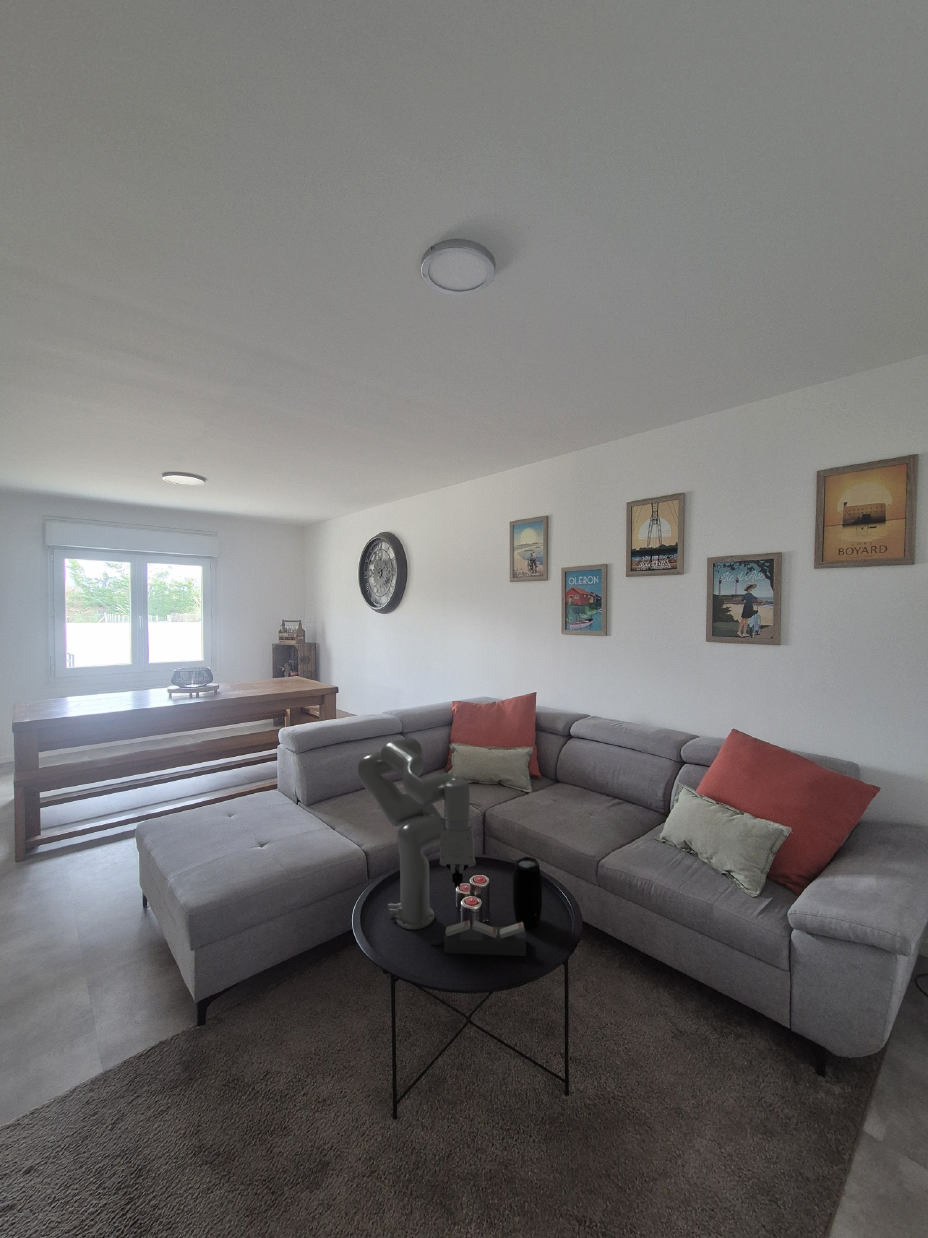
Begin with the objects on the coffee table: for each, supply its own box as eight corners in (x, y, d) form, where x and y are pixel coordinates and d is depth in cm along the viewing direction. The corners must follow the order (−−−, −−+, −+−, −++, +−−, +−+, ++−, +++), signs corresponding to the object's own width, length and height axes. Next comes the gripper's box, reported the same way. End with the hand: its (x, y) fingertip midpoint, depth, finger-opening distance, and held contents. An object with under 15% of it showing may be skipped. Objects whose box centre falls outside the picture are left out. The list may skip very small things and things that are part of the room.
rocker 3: (501, 938, 147) (499, 934, 147) (501, 933, 149) (499, 929, 149) (524, 931, 146) (522, 926, 146) (523, 925, 149) (522, 921, 149)
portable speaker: (544, 929, 158) (544, 867, 158) (515, 931, 157) (514, 869, 157) (538, 914, 167) (538, 855, 167) (510, 915, 166) (510, 856, 166)
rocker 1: (447, 936, 148) (445, 932, 148) (447, 931, 151) (446, 927, 151) (469, 929, 147) (468, 925, 147) (470, 923, 150) (468, 919, 150)
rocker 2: (472, 929, 147) (474, 925, 147) (473, 924, 150) (474, 920, 150) (495, 938, 147) (497, 934, 147) (495, 933, 149) (497, 929, 149)
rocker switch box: (430, 952, 148) (430, 934, 148) (433, 937, 155) (433, 920, 155) (526, 956, 146) (525, 938, 146) (524, 940, 153) (524, 923, 153)
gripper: (430, 827, 146) (431, 890, 146) (481, 828, 145) (482, 892, 145) (433, 817, 154) (434, 877, 153) (482, 818, 153) (483, 879, 152)
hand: (457, 884), depth 149 cm, fingers closed
